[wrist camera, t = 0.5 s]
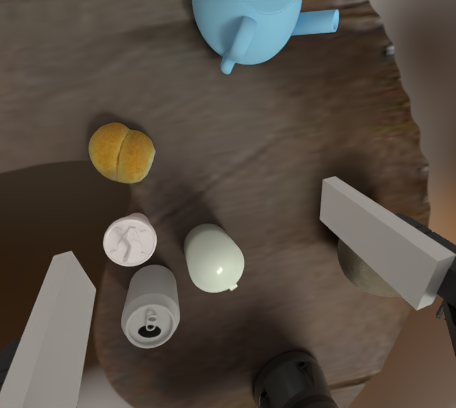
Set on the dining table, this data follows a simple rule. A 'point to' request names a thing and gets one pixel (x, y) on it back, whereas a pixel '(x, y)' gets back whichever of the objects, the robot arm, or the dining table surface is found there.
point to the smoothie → (130, 240)
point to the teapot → (256, 27)
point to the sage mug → (213, 258)
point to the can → (151, 307)
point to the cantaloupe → (362, 273)
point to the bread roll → (121, 153)
